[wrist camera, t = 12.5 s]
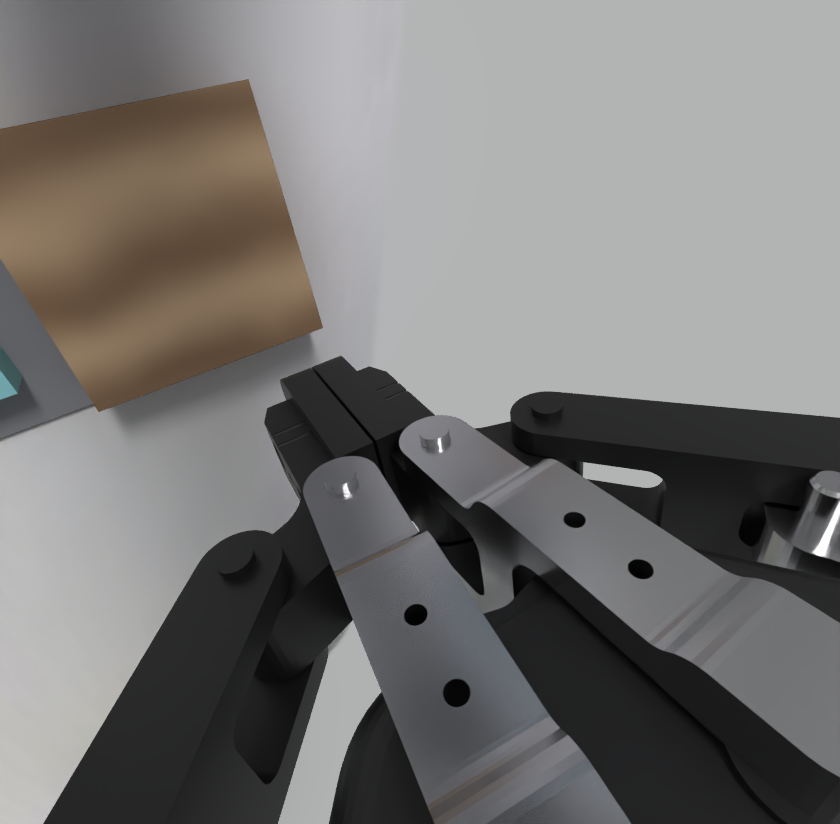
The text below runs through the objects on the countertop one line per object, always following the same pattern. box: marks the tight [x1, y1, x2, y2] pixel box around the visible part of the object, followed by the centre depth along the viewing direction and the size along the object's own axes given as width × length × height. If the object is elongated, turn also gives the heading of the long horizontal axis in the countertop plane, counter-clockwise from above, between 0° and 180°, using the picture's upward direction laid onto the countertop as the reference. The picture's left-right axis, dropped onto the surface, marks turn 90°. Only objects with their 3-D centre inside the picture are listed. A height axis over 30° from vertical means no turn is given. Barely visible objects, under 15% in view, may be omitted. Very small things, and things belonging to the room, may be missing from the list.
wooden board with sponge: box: [0, 79, 323, 412], centre depth 30 cm, size 14×14×4 cm
